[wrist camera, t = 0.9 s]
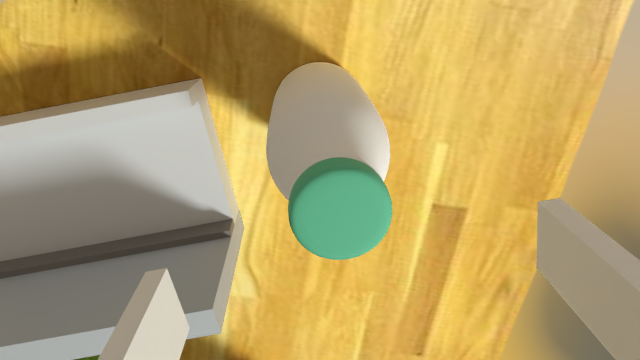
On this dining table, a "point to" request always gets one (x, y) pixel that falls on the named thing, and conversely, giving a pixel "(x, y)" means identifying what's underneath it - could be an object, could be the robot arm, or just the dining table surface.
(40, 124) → the board
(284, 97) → the milk bottle
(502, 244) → the dining table surface
